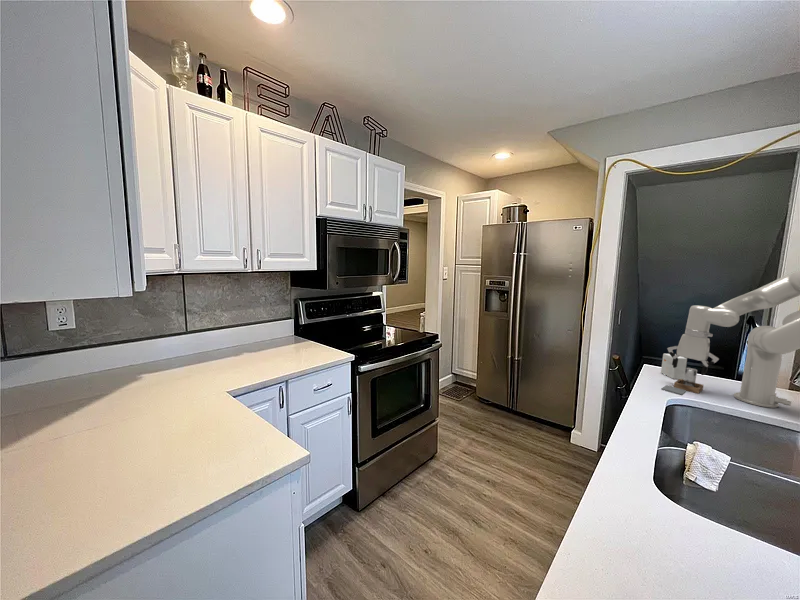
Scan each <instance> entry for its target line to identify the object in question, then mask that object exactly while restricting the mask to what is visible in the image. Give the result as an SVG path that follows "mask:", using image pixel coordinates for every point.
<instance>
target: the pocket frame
mask: <svg viewBox="0 0 800 600" xmlns="http://www.w3.org/2000/svg"><path fill="white" fill-rule="evenodd" d="M683 380H684V379H676V381H674V382H673V383H674V384H673V387H675V388H679V389H683V390H686V392H690V393H693V394H697V395H698V394H700V393H701V392H702V391H703V390H704V386H705V385H704V384H701V383H697V382H695V387H691V386H687V385H684V384H683Z"/></svg>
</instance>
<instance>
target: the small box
mask: <svg viewBox="0 0 800 600" xmlns="http://www.w3.org/2000/svg"><path fill="white" fill-rule="evenodd" d="M674 354H675V355H677V353H674ZM672 362H673V358H672V356H671V355H670V354H669V353H663V354H662V361H661V369H660V374H661V373H663V374H665V375H664V376H666V375H667V376H666V377H668V378H671V379H673V380H679V379H682V380H684V374H685V368H687V362H688V358H685V357H681V356H679V357H678V364H677V367H676V368H673V365H672ZM663 374H662V375H663Z"/></svg>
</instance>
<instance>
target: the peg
mask: <svg viewBox="0 0 800 600" xmlns="http://www.w3.org/2000/svg"><path fill="white" fill-rule="evenodd" d="M697 374H698V369H696V368H691V367H686V368H685V374H684V379H682V380H683V384H684V385H687V386H691V387H695V383H696V381H697Z"/></svg>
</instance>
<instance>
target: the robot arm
mask: <svg viewBox="0 0 800 600" xmlns="http://www.w3.org/2000/svg"><path fill="white" fill-rule="evenodd" d="M797 297H800V269H797V270H795V271H793V272H790V273H788V274H785V275H783V276H781V277H779V278H777V279H775V280H774V281H771V282H769V283H767V284H765V285H762V286H761V287H758V288H756V289H753V290H752V291H749V292H746V293H744V294H741V295H738V296H736V297H734V298H731V299H730V300H727V301H725V302H722V303H721V304H719V305H717V306H714V307H713V308H712V307H711V306H706V305H691V306H690V308H689V310H688V317H687V320H686V321H687V322H686V325H685V331H684V333H683V334H682V335H681V337H680V340H679V341H678V345H674V346H670V347H667V348H666V349H667V352H668V354H670V355H671V356H672V358H673V362H672V365H673V368H676V367H677V364H678V357H679V356H681V357H684V358H687V359H691V360H695V361H698V362H699V361H700V362H701V363H702V366H701V367H702V368H701V372H700V375H701V376H704V375H705V374H707V373H708V369H709V367H710V366H713V365H714V364H715V363H717V362H718V361H719V360H720V358H719V357H718V356H716V355H714V354H713V353H711V352H710V346H711V344H710V343H711V341H710V338H712V337H713V333H711V332H710V327H711V325H715V326H719V327H722V328H723V327H725V328H726V327H727V328H731V327H734V326H736V325H737V324H738V323H739V321H740V316H742V315H745V314H748V313H751V312H754V311H759V310H767V309H771V308H774V307H778V306H780V305H781V304H785V303H787V302H788V301H790V300H792V299H795V298H797ZM781 324H782V325H780V326H778V327H775V326H771V325H760V326H756V327H754V328H753V329H752V330H751V331H750V332H749V333H748V336H747V351H746V359H745V363H744V369H743V373H742V378H741V379H742V380H741V384H740V385H741V386H740V388H739V389H740V390H739V392H738V391H737V392H734V394H733V396H734V398H735V399H737V400H739V401H741V402H744V403H747V404H751V405H754V406H759V407H764V408H770V409H771V408H772V409H775V408H776V409H777V408H778V407H779V405H780V404H781V405H784V406H788V407H791V406H792V401H791V400H788V399H786V398H782V397H779V396H777V393H776V389H777V385H778V380H779V375H780V371H781V366H782V358H783V355H786V354H789V353H792V352H795V351H797V350H800V309H799V310H797V311H794V312H792V313H790V314H787V316H785V317H784V318H783V319H782V323H781ZM673 350H676V353H674V351H673ZM675 354H676V355H675ZM708 358H711V361H708Z"/></svg>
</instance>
